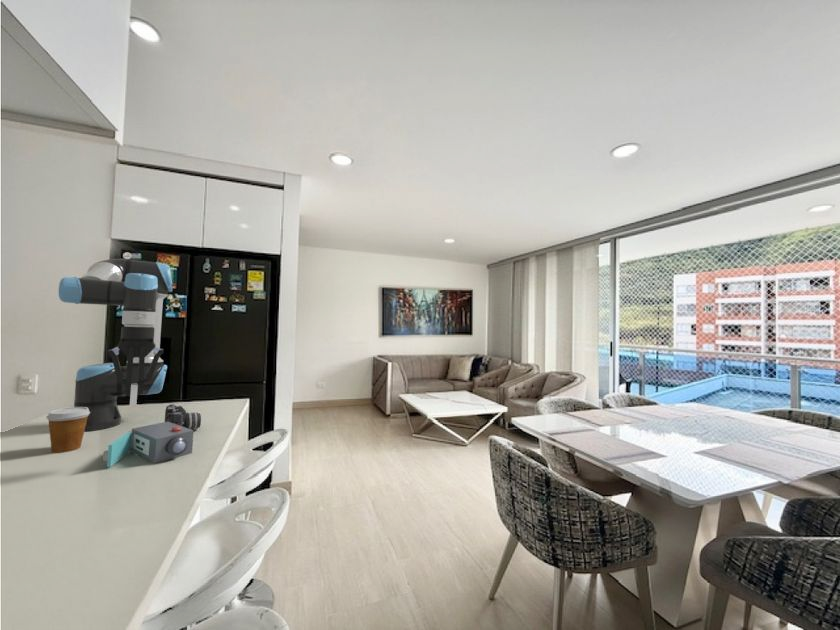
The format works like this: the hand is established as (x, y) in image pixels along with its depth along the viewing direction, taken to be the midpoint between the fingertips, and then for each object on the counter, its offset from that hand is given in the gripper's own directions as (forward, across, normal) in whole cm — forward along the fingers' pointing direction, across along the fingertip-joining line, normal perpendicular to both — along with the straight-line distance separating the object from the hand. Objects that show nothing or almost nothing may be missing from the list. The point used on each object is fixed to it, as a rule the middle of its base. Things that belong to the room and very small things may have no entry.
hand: (132, 406), depth 98 cm
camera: (+16, +15, +22) cm, 31 cm away
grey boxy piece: (+16, +8, +3) cm, 18 cm away
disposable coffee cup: (+16, -15, +22) cm, 31 cm away
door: (+16, -3, +3) cm, 16 cm away
